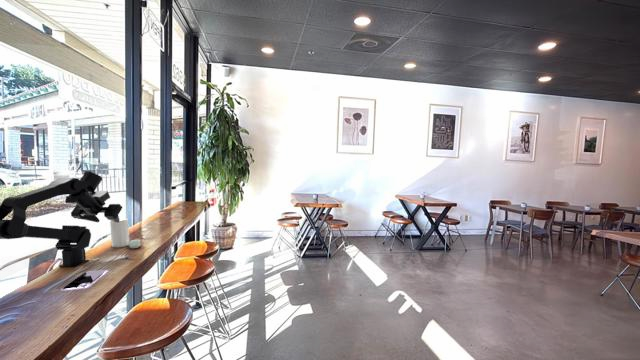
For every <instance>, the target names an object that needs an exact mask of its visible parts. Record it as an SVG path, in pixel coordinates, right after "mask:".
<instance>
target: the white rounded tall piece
mask: <svg viewBox="0 0 640 360" xmlns="http://www.w3.org/2000/svg"><path fill="white" fill-rule="evenodd" d="M119 220H120V221H119V223H117V222H114V221H111V220H110V222H109V223H110V238H111V247H112V248H123V247H127V246H129V241H130V227H129V218H127V217H119Z"/></svg>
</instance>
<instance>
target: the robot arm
mask: <svg viewBox="0 0 640 360" xmlns="http://www.w3.org/2000/svg"><path fill="white" fill-rule="evenodd" d="M102 181H103V178H102V176H101V175H99V174H97V173H94V172H92V171H90V170H85V172H84V173H83V175H82V176H81V178H80V179H79V178H78V177H59V178H56V179H55V180H52V181H51V182H49V184H48V185H45V186H43V187H39V188H37V189H36V188H35V189H33V190H30V191H26V192H24V193H20V194H18V195H14V196H8V197H6V198H4V199H3V200H2V202H1V204H0V240H12V239H14V240H15V239H23V238H31V239H48V240H56V241H57V242H56V244H55V248H56V250H57V251H60V250H61V255H62V257H61V258H62V259H61V260H62V264H59V265H58V267H59V268H76V267H78V266H81V265H84V264H85V263H88V262H90V260H89V259H86V258H87V257H86V248H88V247H90V246H89V245H90V241H91V239H92V233H91V231H90V229H89V228H87V226H84V225H83V226H80V225H66V224H65V225H63V224H62V225H61V228H55V227H48V226H47V227H45V226H38V225H37V226H35V225H29V224H27V223H26V220H27V210H28V207H31V206H34V205H37V204H40V203H42V202H44V201H47V200H50V199H52V198H53V199H54V198H56V197H59V196H65V195H66V197H65V204H76V205H75V206H74V208H73V209H72V211H71V212H70V216H71V217H72V218H73V219H78V220H84V221H88V222H93V223H99V222H100V219H99V218H98V217H97V216H98V214H103V216H104V217H105V218H106V219H107V220H108V221H110V222H111V221H114V222H117V223H119V221H120V220H119V218H120V216H119V214H120V213H121V211H122V209H123V206H122V205H121V204H120V203H110V204H108V206H105V205H106V201H107V200H109V199H111V196H110V194H109V192H108V190H97V188H98V187H99V186H100V184H101V182H102ZM10 213H13V214H12V217H11V218H10V219H5V218H6V217H7V216H8V215H10Z"/></svg>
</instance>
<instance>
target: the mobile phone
mask: <svg viewBox="0 0 640 360" xmlns="http://www.w3.org/2000/svg"><path fill="white" fill-rule="evenodd" d="M108 273H109V269H100V270H89V271H85V272H84V273H82V274H81V275H80V274H79V276H78V277H76V278H74V279H73V280H72V281H70V282H69V283H67V284H66V285H64V286H63V287H62V288H61V289H60V291H61V292H66V291H77V290H86V289H89V288H90V287H91V286H92V285H94V284H96V282H97V281H99V280H101V278H103V277H104V276H105V275H106V274H108Z"/></svg>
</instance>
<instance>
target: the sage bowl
mask: <svg viewBox="0 0 640 360" xmlns="http://www.w3.org/2000/svg"><path fill="white" fill-rule="evenodd" d="M141 245H142V244H141V239H131V240H129V245H128V247H129V248H130V249H137V248H139V247H141Z"/></svg>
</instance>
